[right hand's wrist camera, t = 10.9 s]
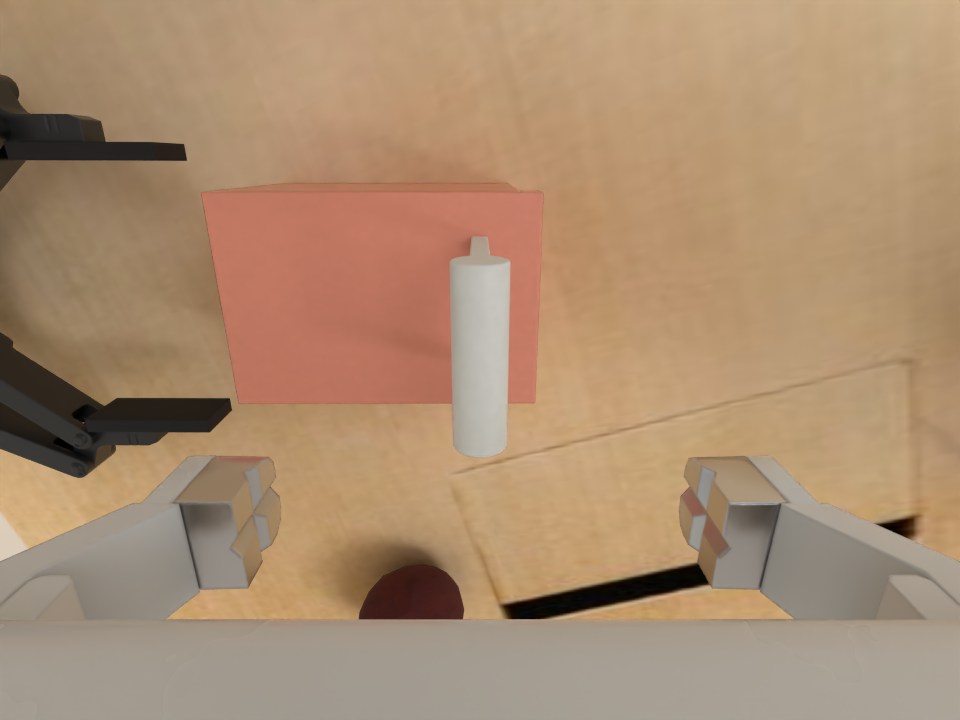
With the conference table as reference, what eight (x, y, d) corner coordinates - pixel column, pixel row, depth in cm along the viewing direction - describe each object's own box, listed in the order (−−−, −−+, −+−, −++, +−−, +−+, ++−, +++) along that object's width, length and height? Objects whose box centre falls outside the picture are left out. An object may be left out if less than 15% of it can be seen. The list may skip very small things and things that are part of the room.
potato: (350, 583, 41) (326, 663, 35) (417, 525, 39) (405, 598, 33) (419, 633, 43) (408, 718, 37) (486, 580, 41) (488, 660, 35)
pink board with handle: (540, 190, 23) (576, 206, 15) (532, 393, 26) (557, 500, 18) (213, 190, 23) (63, 206, 15) (248, 394, 26) (141, 501, 18)
